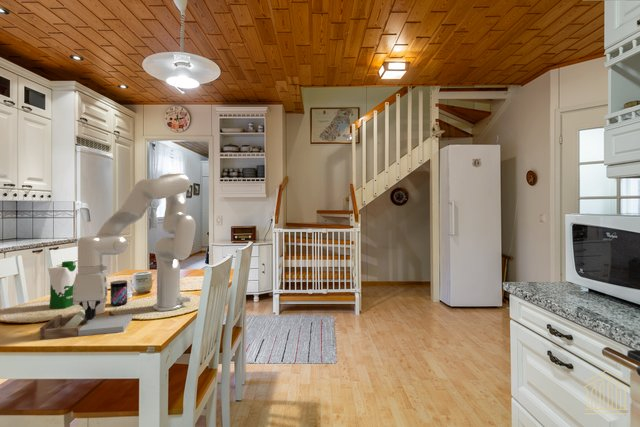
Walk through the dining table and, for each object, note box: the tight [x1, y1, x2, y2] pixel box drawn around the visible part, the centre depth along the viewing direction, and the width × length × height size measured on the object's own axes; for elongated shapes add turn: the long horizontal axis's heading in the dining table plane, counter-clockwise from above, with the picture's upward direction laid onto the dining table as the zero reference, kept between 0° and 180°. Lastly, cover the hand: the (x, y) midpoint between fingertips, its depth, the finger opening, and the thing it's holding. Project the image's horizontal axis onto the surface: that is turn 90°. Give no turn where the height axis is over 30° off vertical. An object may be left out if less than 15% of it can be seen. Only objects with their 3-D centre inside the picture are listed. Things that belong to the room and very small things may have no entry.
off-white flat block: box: [62, 309, 85, 328], centre depth 122 cm, size 6×6×3 cm
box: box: [39, 314, 88, 340], centre depth 121 cm, size 11×14×4 cm
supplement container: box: [110, 279, 128, 307], centre depth 153 cm, size 7×7×10 cm
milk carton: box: [47, 260, 78, 309], centre depth 149 cm, size 9×9×20 cm
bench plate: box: [77, 313, 133, 337], centre depth 125 cm, size 14×14×2 cm
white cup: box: [89, 301, 107, 315], centre depth 141 cm, size 7×7×7 cm
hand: (90, 318), depth 123 cm, fingers closed
